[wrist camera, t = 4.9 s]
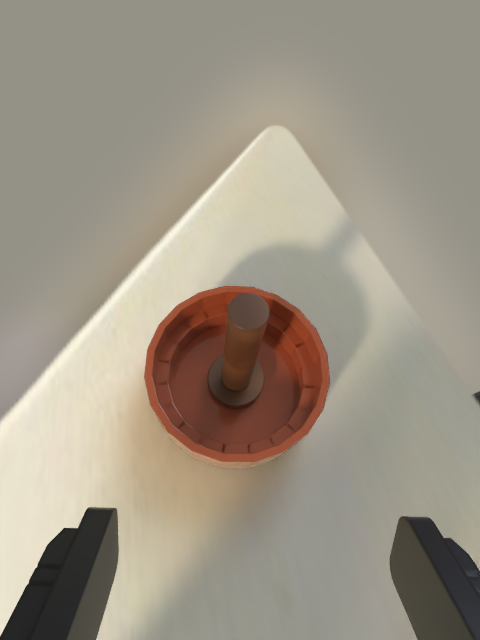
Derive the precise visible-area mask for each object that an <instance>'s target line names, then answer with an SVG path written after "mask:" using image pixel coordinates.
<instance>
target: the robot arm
mask: <svg viewBox="0 0 480 640" xmlns="http://www.w3.org/2000/svg"><path fill="white" fill-rule="evenodd" d="M118 552H119V548H118V516H117V509H116V508H96V507H89V508H88V509H87V510H86V512H85V514H84V516H83V518H82V520H81V523H80V525H79V527H78V528H64V529H63V530H62V531H61V532H60V533H59V534H58V535H57V536H56V537H55V538H54V539H53V540H52V541H51V542H50V543H49V544H48V545H47V547H46V549H45V551H44V553H43V555H42V557H41V559H40V561H39V563H38V566H37V568H35V570H34V572H33V574H32V576H31V578H30V580H29V584H28V585H27V586H26V588H25V590H24V592H23V594H22V596H21V598H20V600H19V601H18V603H17V605H16V607H15V609H14V611H13V613H12V615H11V617H10V619H9V621H8V623H7V625H6V627H5V629H4V631H3V633H2V634H1V636H0V640H96V638H97V635H98V631H99V628H100V625H101V621H102V618H103V614H104V611H105V608H106V604H107V601H108V598H109V594H110V591H111V587H112V584H113V581H114V577H115V573H116V569H117V562H118ZM390 571H391V576H392V579H393V582H394V585H395V587H396V589H397V592H398V594H399V596H400V599H401V601H402V603H403V606H404V608H405V610H406V613H407V615H408V617H409V620H410V622H411V624H412V627H413V629H414V631H415V634H416V636H417V638H418V640H480V571H479V569H478V568H477V566H476V565H475V563H474V562H473V560H472V559H471V557H470V556H469V554H468V553H466V552H465V551H464V550H463V549H462V548H461V547H460V546H459V545H458V544H457V543H455V542H454V541H453V540H452V539H451V538H443V536H442V535H441V533H440V531H439V530H438V528H437V527H436V525H435V524H434V522H433V521H432V520H431V519H430V518H428V517H407V516H402V517H401V518H400V519H399V521H398V525H397V529H396V534H395V538H394V542H393V546H392V550H391V555H390Z"/></svg>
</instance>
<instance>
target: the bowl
mask: <svg viewBox="0 0 480 640" xmlns="http://www.w3.org/2000/svg"><path fill="white" fill-rule="evenodd" d="M242 293H253V294H257V295H259V296H260V297H262V298H263V299H264V300H265V301H266V303H267V304H268V307H269V311H270V315H269V319H268V322H267V326H266V329H265V332H264V336H263V339H262V342H261V346H260V349H259V352H258V356H257V359H256V361H257V362H258V363H259V364H260V366H261V368H262V370H263V374H264V385H263V388H262V391H261V393H260V395H259V397H258V398H257V400H256V401H255V402H254V403H252V404H251V405H249V406H247V407H245V408H241V409H230V408H227V407H224V406H222V405H220V404H219V403H218V402H216V401H215V400H214V398H213V397H212V395H211V394H210V391H209V388H208V372H209V369H210V367H211V365H212V363H213V362H214V361H215V360H216V359H217V358H218V357H219V356H221V355H223V354H224V346H225V334H226V321H227V309H228V305H229V303H230V301H231V300H232V299H233V298H234V297H235V296H237V295H239V294H242ZM144 377H145V378H144V379H145V383H146V387H147V392H148V396H149V401H150V405H151V407H152V409H153V411H154V412H155V414H156V416H157V418H158V419H159V421H160V423H161V424H162V426H163V427H164V429H165V431H166V432H167V434H168V435H169V437H170V438H171V440H172V441H173V442H174V443H175V444H176V445H178V446H179V447H180V448H181V449H183V450H184V451H185V452H186V453H188V454H189V455H190V456H191V457H193V458H194V459H197V460H199V461H202V462H205V463H208V464H211V465H213V466H216V467H219V468H220V467H221V468H251V467H254V466H257V465H260V464H263V463H266V462H269V461H272V460H274V459H276V458H278V457H279V456H280V455H281V454H283V453H284V452H285V451H287V450H288V449H289V448H290V447H292V446H293V445H294V444H295V443H297V442H298V441H299V440H300V439H302V438H303V437H304V436H305V435H307V434H308V433H309V431H310V429H311V428H312V426H313V425H314V423H315V422H316V420H317V418H318V417H319V415H320V414H321V412H322V411H323V409H324V405H325V401H326V397H327V392H328V388H329V384H330V377H329V367H328V357H327V353H326V350H325V348H324V346H323V343H322V341H321V339H320V337H319V334H318V332H317V330H316V328H315V327H314V326H313V325H312V324H311V323H310V321H309V320H308V319H307V318H306V317H305V316H304V314H303V313H302V312H301V311H300V310H299V309H298V308H296V307H295V306H293V305H292V304H290V303H289V302H287V301H286V300H284V299H283V298H281V297H280V296H278V295H276V294H273V293H270V292H266V291H263V290H260V289H257V288H254V287H241V286H223V287H219V288H215V289H211V290H207V291H203V292H200V293H198V294H196V295H194V296H192V297H191V298H189V299H187V300H186V301H184V302H182V303H180V304H179V305H178V306H176V307H175V308H174V309H173V310H172V311H171V312H170V313H169V314H168V316H167V317H166V318H165V319H164V320H163V321H162V322H161V323H160V324H159V326H158V328H157V330H156V332H155V334H154V336H153V338H152V340H151V342H150V345H149V347H148V350H147V357H146V366H145V374H144Z"/></svg>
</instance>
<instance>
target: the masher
mask: <svg viewBox="0 0 480 640" xmlns="http://www.w3.org/2000/svg"><path fill="white" fill-rule="evenodd" d="M269 315H270V311H269V307H268V304H267V303H266V301H265V300H264V299H263V298H262V297H260V296H259V295H257V294H253V293H242V294H239V295H237V296H235V297H234V298H233V299H232V300H231V301H230V303H229V305H228V309H227V321H226V334H225V346H224V354H223V355H221V356H219V357H218V358H217V359H216V360H215V361H214V362H213V363H212V365H211V367H210V369H209V372H208V388H209V391H210V394H211V395H212V397H213V398H214V400H215V401H216V402H218V403H219V404H220V405H222V406H224V407H227V408H230V409H241V408H245V407H247V406H249V405H251V404H252V403H254V402H255V401H256V400H257V398H258V397H259V395H260V393H261V391H262V388H263V385H264V374H263V370H262V368H261V366H260V364H259V363H258V362H257V361H256V359H257V356H258V352H259V349H260V346H261V342H262V339H263V336H264V332H265V329H266V326H267V322H268V319H269Z"/></svg>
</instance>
